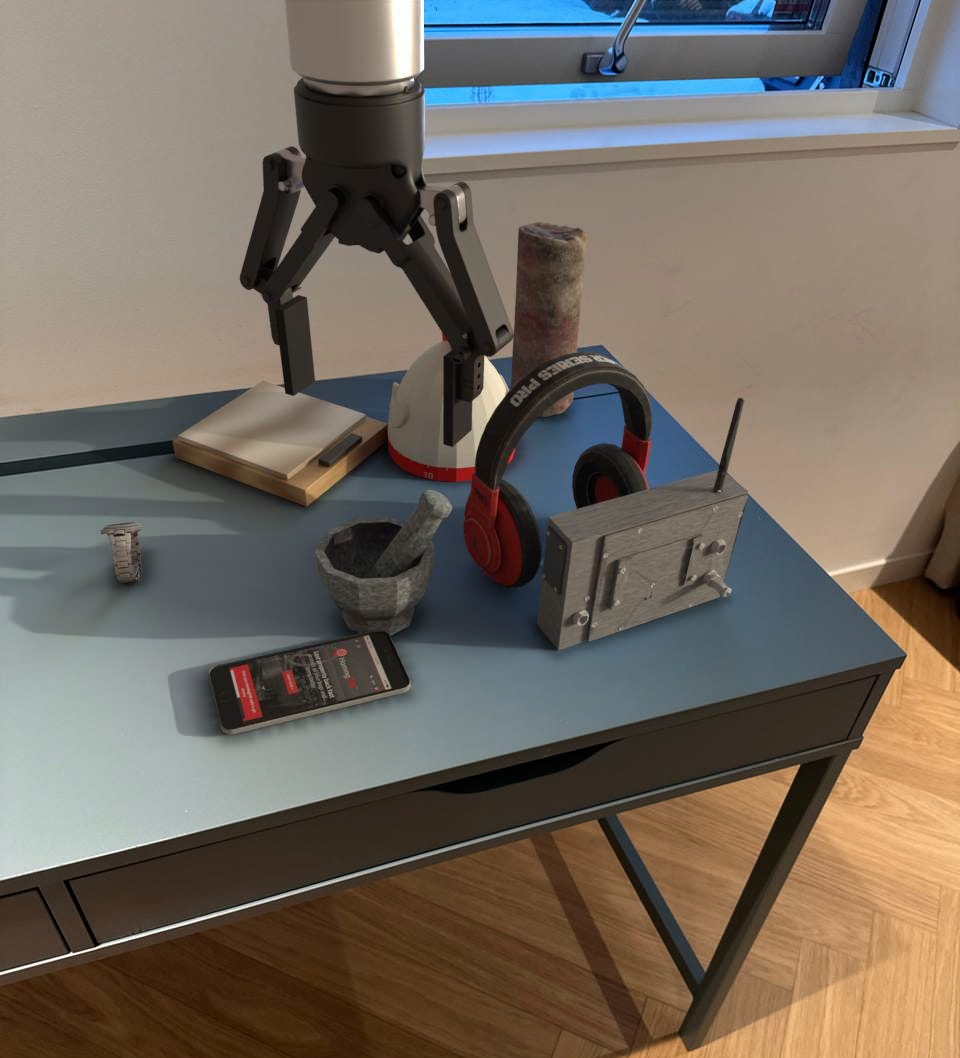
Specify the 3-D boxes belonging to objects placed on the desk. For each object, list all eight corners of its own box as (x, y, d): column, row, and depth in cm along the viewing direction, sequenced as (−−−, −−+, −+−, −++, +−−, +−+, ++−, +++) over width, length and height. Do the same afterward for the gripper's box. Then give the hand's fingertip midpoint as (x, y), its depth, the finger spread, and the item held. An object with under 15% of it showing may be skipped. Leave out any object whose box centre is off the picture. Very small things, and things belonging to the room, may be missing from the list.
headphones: (503, 618, 82) (518, 414, 68) (446, 556, 88) (449, 358, 74) (658, 558, 89) (699, 362, 75) (595, 505, 95) (623, 315, 82)
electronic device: (693, 571, 88) (742, 376, 74) (738, 615, 84) (800, 416, 70) (532, 624, 82) (553, 420, 68) (572, 674, 77) (603, 467, 64)
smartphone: (206, 667, 75) (386, 627, 79) (208, 673, 76) (386, 633, 80) (222, 732, 70) (413, 686, 74) (223, 738, 71) (413, 692, 75)
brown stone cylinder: (495, 399, 110) (504, 224, 97) (539, 380, 114) (553, 209, 100) (541, 425, 106) (558, 246, 93) (585, 404, 110) (607, 230, 96)
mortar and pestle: (321, 652, 77) (308, 530, 70) (321, 584, 85) (310, 467, 77) (456, 645, 79) (458, 524, 71) (445, 578, 86) (446, 463, 78)
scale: (175, 457, 99) (170, 436, 97) (265, 398, 108) (262, 377, 107) (307, 507, 93) (304, 485, 91) (388, 439, 103) (388, 418, 101)
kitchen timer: (399, 487, 96) (396, 350, 86) (378, 419, 106) (373, 289, 96) (529, 474, 99) (541, 339, 89) (497, 409, 109) (504, 281, 98)
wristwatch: (151, 549, 87) (140, 504, 84) (148, 591, 83) (136, 546, 79) (112, 552, 87) (99, 508, 83) (107, 595, 82) (93, 550, 79)
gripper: (585, 97, 52) (553, 435, 66) (230, 38, 60) (271, 349, 75) (523, 128, 47) (504, 486, 61) (147, 59, 55) (208, 388, 70)
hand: (376, 412), depth 68 cm, fingers open, 13 cm apart
